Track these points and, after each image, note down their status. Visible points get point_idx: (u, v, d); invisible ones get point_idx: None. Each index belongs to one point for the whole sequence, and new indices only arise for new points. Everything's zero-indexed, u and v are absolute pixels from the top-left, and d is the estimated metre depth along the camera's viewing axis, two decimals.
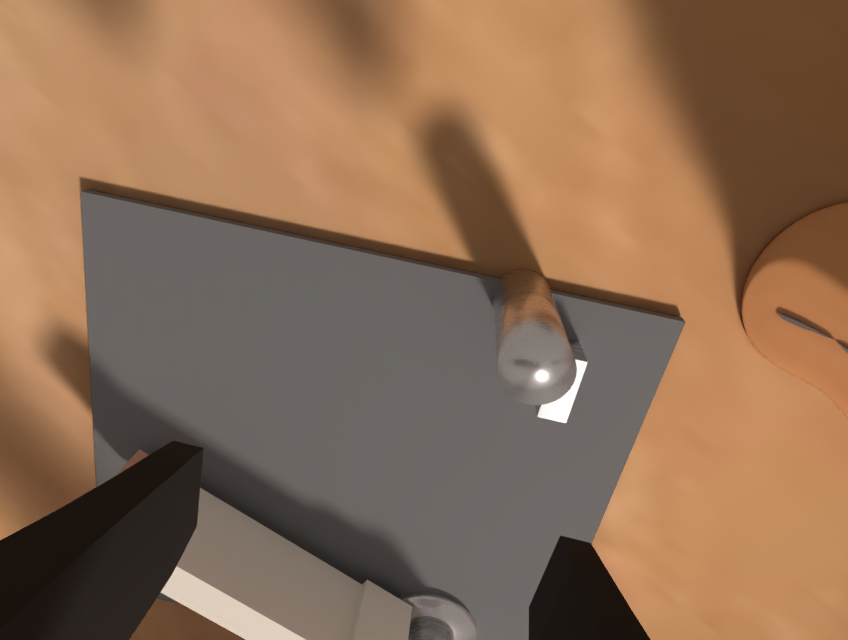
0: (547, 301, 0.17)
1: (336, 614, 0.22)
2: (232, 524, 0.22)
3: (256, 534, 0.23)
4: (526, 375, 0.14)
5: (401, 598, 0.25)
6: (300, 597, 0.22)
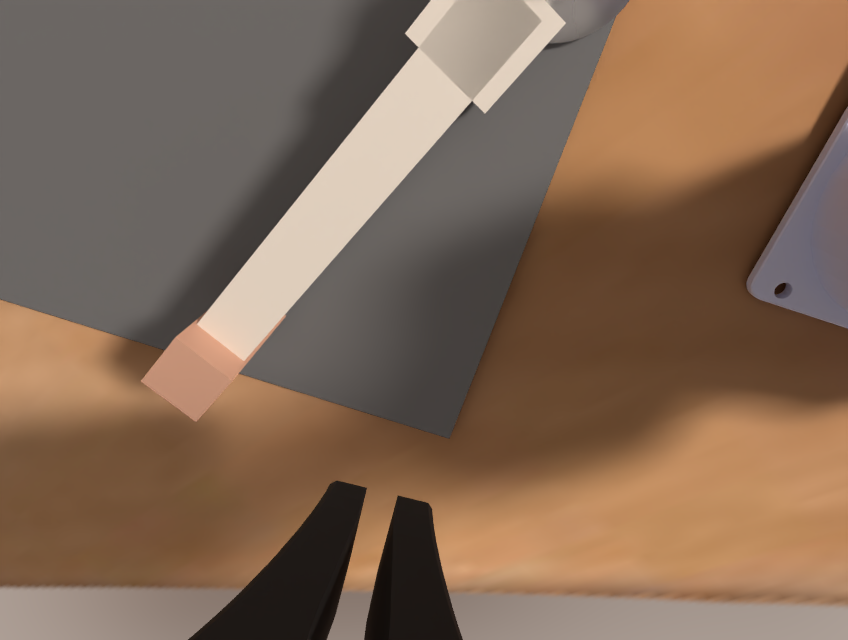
0: None
1: None
2: None
3: None
4: None
5: None
6: None
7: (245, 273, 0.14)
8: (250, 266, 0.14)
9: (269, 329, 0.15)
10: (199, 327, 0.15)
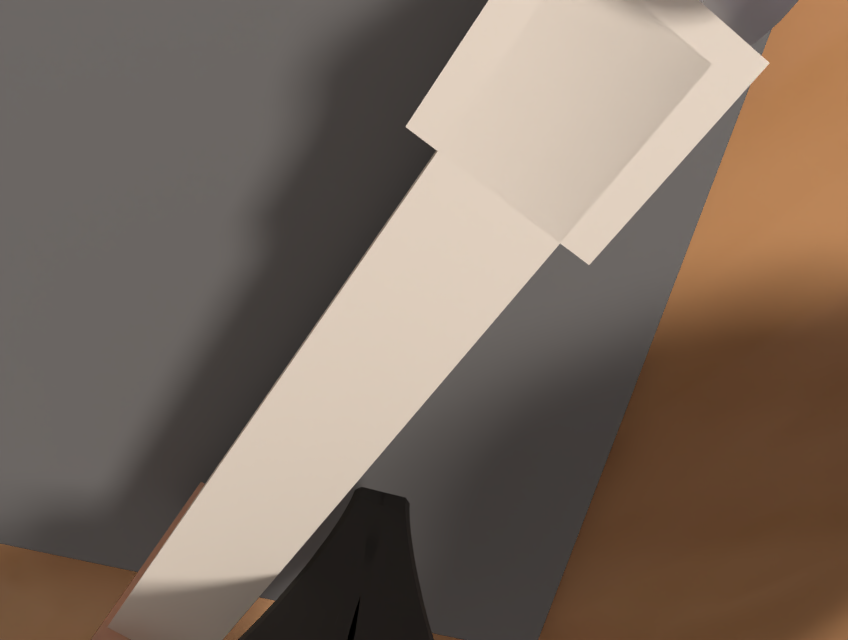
0: None
1: None
2: None
3: (285, 368, 0.10)
4: None
5: None
6: (342, 287, 0.08)
7: (170, 554, 0.08)
8: (177, 543, 0.08)
9: (227, 630, 0.09)
10: (112, 632, 0.09)
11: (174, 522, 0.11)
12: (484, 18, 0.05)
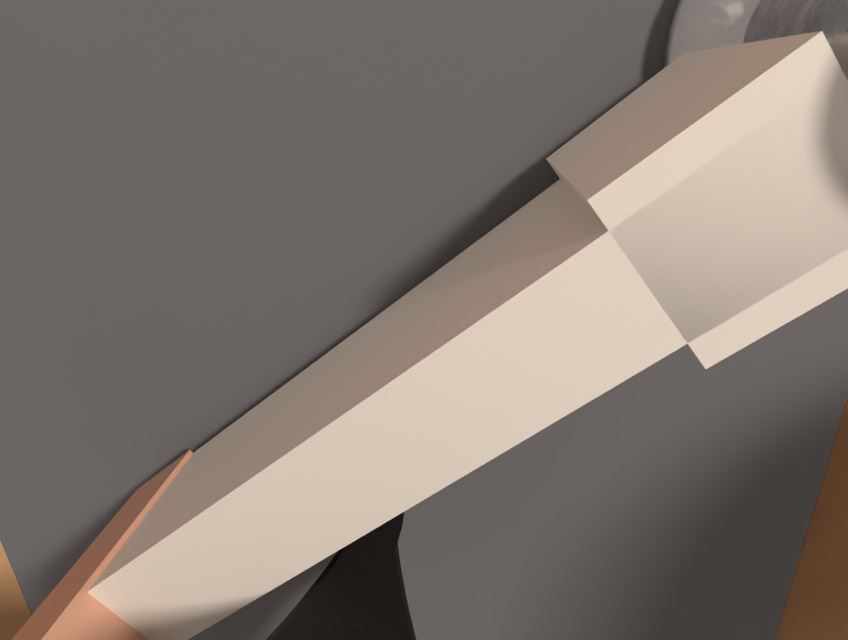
0: None
1: (529, 239, 0.07)
2: (278, 400, 0.10)
3: (322, 364, 0.10)
4: None
5: None
6: (432, 312, 0.08)
7: (185, 536, 0.08)
8: (196, 527, 0.08)
9: (217, 619, 0.08)
10: (91, 598, 0.08)
11: (161, 489, 0.11)
12: (701, 126, 0.05)
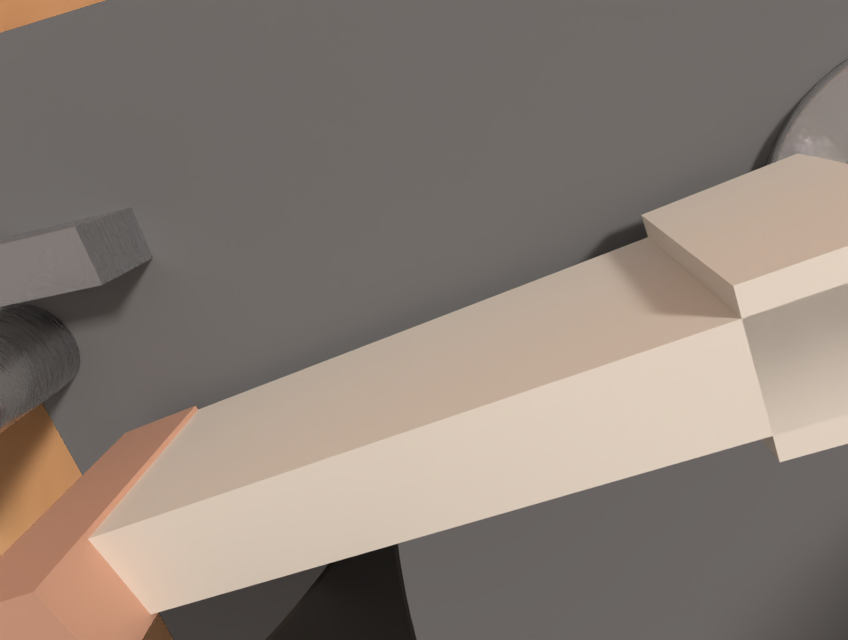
0: None
1: (629, 294, 0.08)
2: (313, 380, 0.10)
3: (367, 356, 0.10)
4: None
5: None
6: (516, 340, 0.08)
7: (216, 506, 0.08)
8: (231, 499, 0.08)
9: (219, 592, 0.08)
10: (91, 546, 0.08)
11: (165, 442, 0.10)
12: None
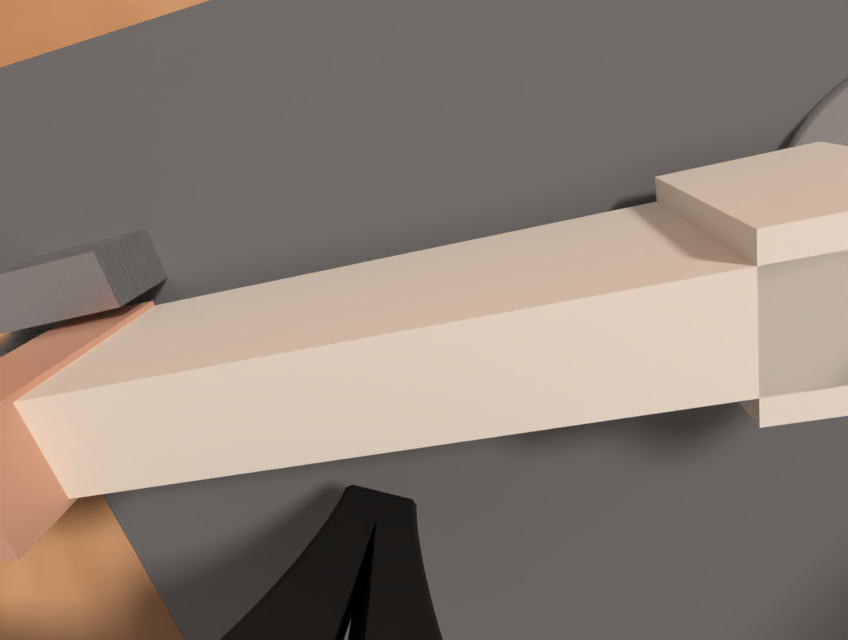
0: None
1: (637, 242, 0.07)
2: (286, 289, 0.09)
3: (348, 273, 0.09)
4: None
5: None
6: (512, 270, 0.07)
7: (164, 386, 0.07)
8: (182, 382, 0.07)
9: (149, 485, 0.08)
10: (15, 411, 0.07)
11: (115, 327, 0.09)
12: None
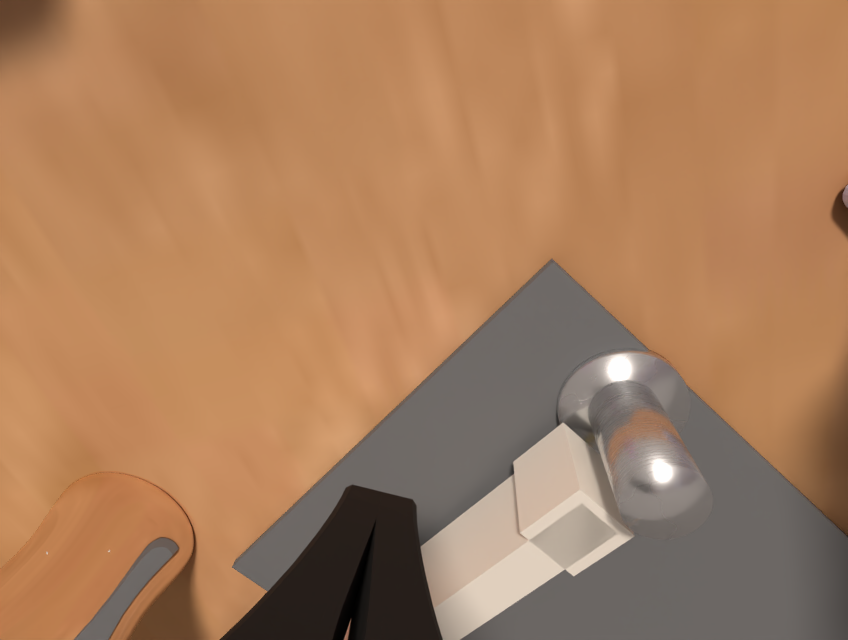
0: None
1: (507, 517, 0.19)
2: None
3: (425, 552, 0.21)
4: None
5: None
6: (473, 546, 0.19)
7: None
8: None
9: None
10: None
11: None
12: (551, 513, 0.17)
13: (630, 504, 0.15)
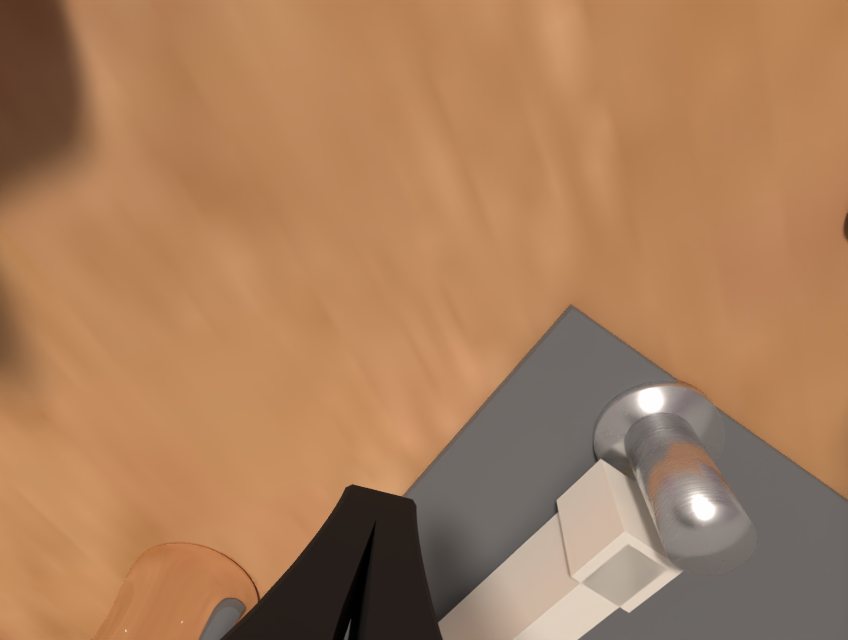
0: None
1: (557, 558, 0.19)
2: (465, 613, 0.22)
3: (481, 594, 0.22)
4: None
5: None
6: (527, 588, 0.20)
7: None
8: None
9: None
10: None
11: None
12: (599, 556, 0.17)
13: (675, 544, 0.15)
